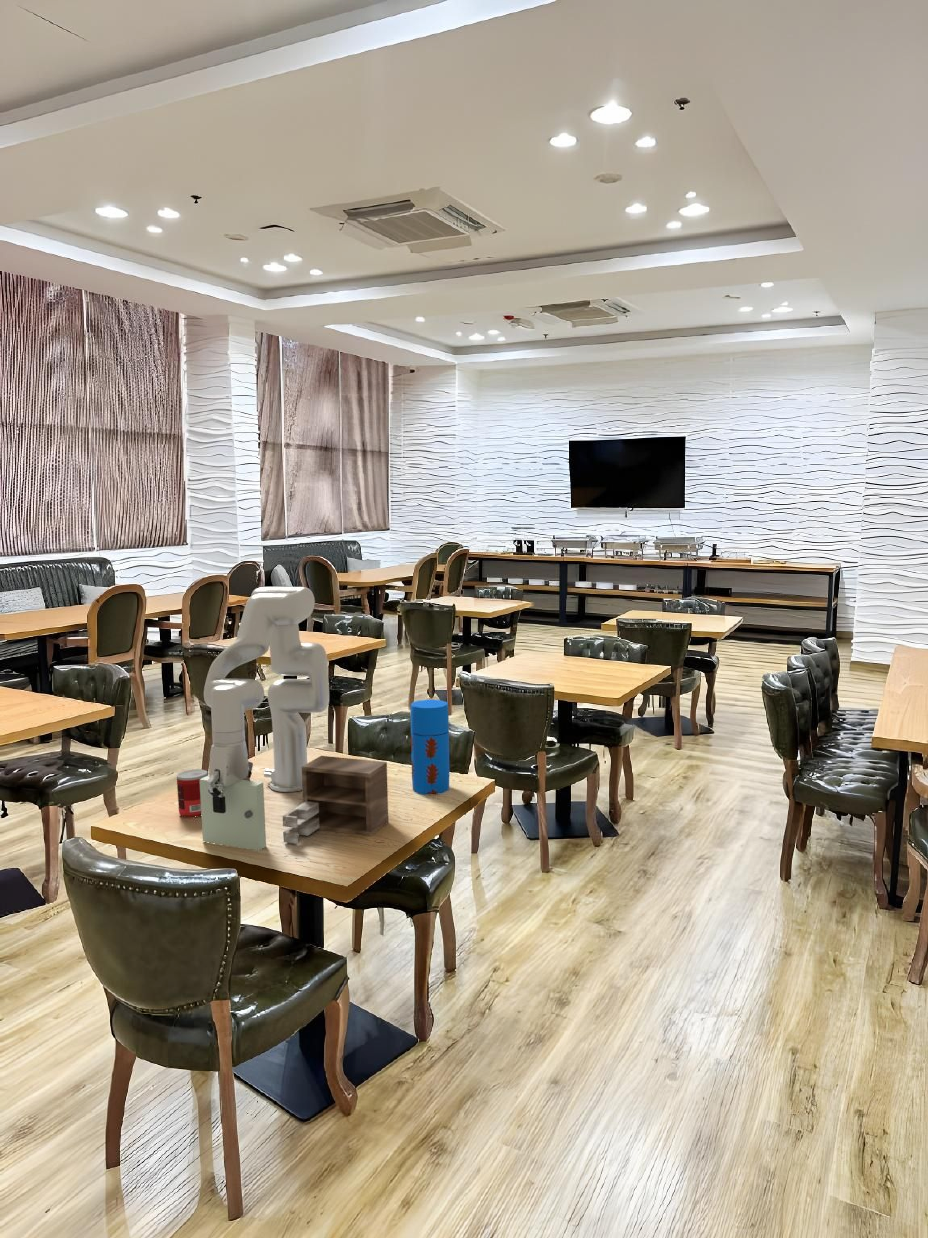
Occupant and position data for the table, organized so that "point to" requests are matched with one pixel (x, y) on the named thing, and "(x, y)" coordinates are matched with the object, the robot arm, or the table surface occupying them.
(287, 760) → the robot arm
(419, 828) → the table surface
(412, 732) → the thermos
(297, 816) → the cabinet
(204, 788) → the door
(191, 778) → the canned food
